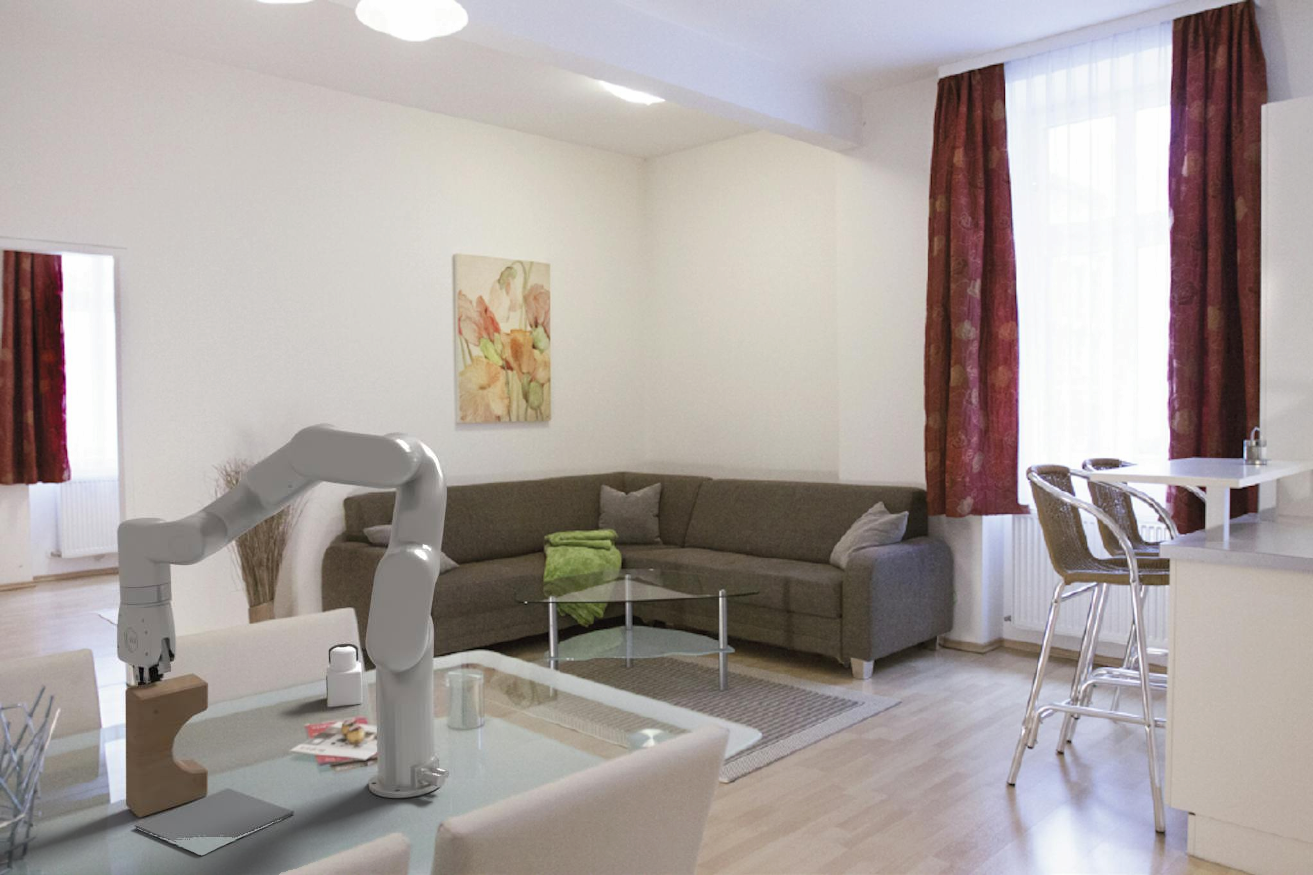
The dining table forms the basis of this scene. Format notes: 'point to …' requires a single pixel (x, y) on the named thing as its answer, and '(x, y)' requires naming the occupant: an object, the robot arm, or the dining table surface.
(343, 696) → the medicine bottle
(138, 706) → the decorative block
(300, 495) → the robot arm
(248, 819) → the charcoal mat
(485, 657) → the dining table surface
